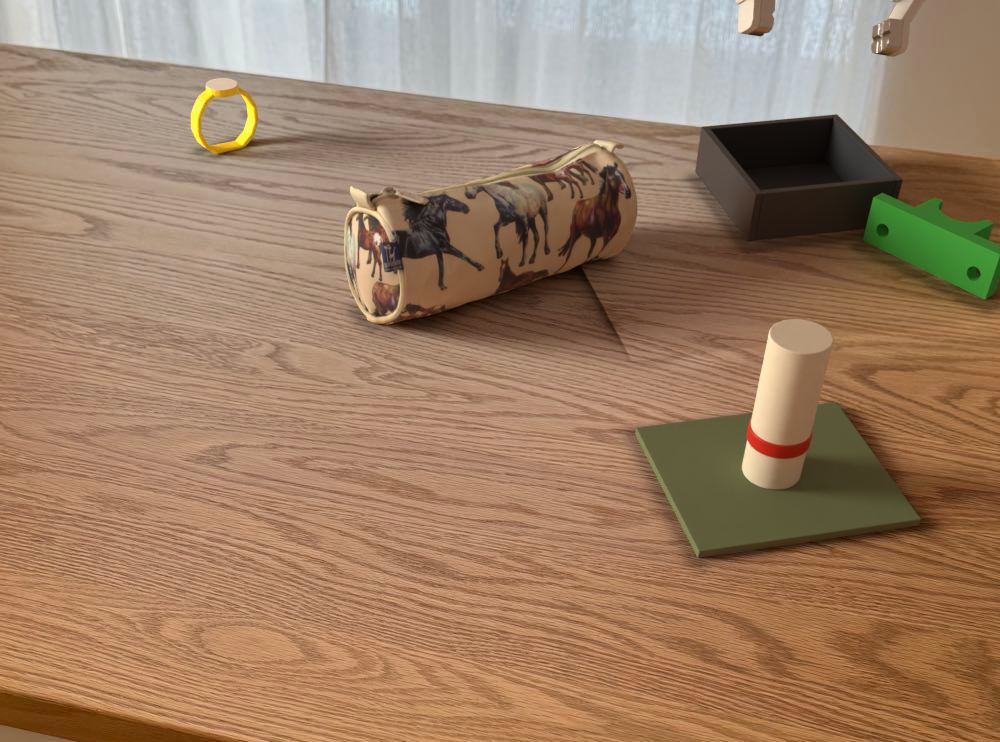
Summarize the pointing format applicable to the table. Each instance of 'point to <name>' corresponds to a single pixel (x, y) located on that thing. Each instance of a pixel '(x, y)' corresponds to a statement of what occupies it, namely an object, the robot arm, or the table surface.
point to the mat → (765, 512)
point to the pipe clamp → (936, 242)
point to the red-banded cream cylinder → (786, 403)
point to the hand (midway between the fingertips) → (823, 43)
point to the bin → (793, 176)
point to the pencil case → (486, 233)
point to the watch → (222, 90)
